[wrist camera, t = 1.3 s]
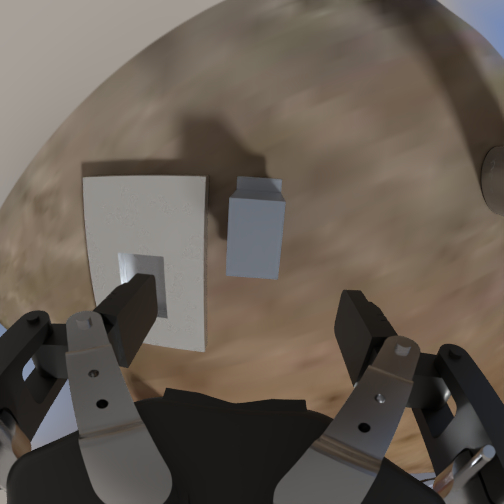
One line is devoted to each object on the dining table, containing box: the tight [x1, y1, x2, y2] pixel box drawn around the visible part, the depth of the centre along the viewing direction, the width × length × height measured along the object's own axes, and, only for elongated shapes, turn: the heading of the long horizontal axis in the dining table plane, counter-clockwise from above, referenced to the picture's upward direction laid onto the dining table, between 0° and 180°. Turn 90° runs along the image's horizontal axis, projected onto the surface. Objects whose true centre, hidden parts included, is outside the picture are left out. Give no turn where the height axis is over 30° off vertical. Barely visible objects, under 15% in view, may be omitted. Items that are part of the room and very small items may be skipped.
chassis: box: [83, 174, 209, 352], centre depth 30 cm, size 14×20×2 cm
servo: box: [226, 176, 285, 279], centre depth 25 cm, size 4×8×8 cm, turn 176°
